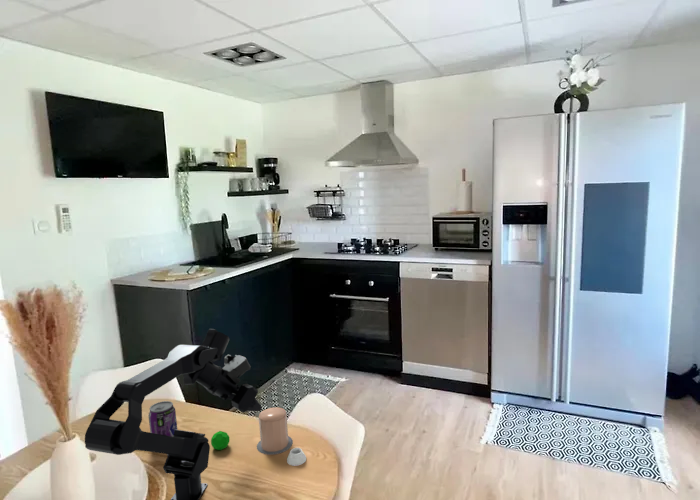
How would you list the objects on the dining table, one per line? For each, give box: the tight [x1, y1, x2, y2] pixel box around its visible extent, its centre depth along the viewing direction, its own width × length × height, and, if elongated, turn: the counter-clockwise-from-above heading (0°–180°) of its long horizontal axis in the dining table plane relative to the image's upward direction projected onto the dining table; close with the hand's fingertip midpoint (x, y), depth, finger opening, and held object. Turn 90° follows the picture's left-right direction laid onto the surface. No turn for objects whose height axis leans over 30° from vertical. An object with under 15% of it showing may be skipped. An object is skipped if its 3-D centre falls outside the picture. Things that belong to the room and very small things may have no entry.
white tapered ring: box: [286, 447, 307, 467], centre depth 116 cm, size 5×3×5 cm
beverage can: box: [148, 400, 178, 436], centre depth 125 cm, size 7×7×12 cm
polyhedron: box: [210, 430, 231, 451], centre depth 123 cm, size 5×5×5 cm
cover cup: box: [258, 406, 289, 452], centre depth 123 cm, size 7×7×9 cm
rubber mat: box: [256, 435, 293, 456], centre depth 124 cm, size 10×10×1 cm
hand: (251, 404), depth 120 cm, fingers open, 9 cm apart
